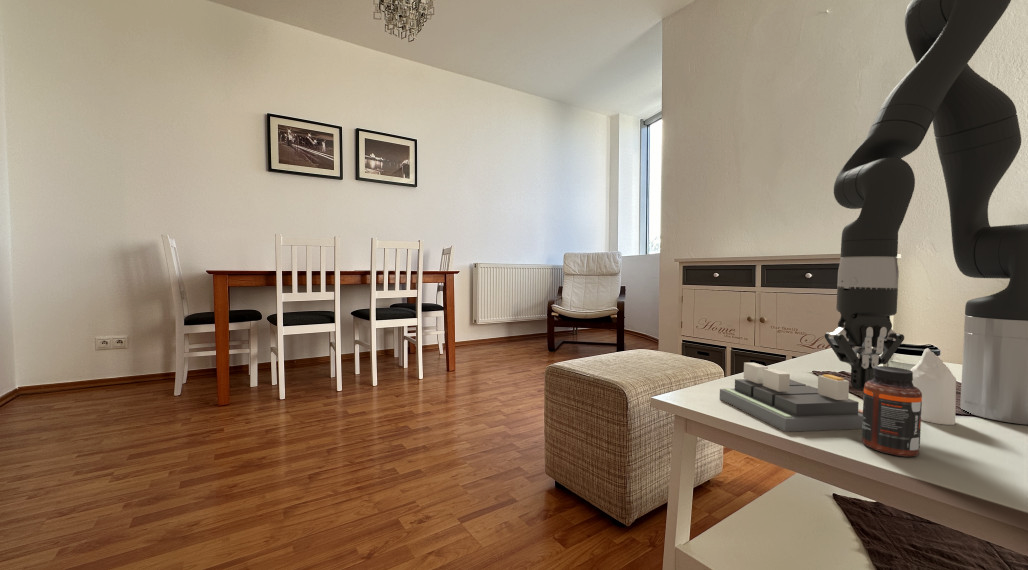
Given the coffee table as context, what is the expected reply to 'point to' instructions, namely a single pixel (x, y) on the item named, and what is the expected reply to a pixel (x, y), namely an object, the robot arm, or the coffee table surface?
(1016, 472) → the coffee table surface
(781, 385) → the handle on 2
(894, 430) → the supplement bottle
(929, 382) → the white pointed block
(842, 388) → the handle
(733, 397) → the panel
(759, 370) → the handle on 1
